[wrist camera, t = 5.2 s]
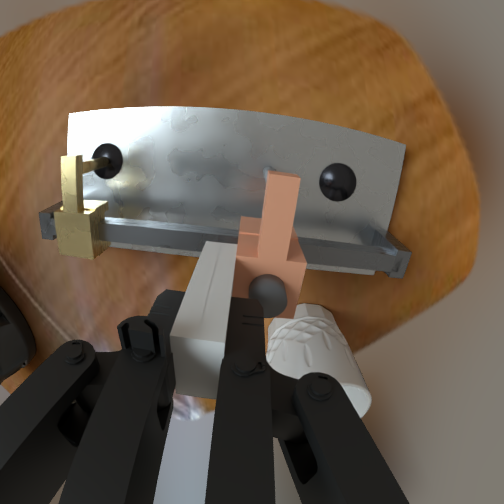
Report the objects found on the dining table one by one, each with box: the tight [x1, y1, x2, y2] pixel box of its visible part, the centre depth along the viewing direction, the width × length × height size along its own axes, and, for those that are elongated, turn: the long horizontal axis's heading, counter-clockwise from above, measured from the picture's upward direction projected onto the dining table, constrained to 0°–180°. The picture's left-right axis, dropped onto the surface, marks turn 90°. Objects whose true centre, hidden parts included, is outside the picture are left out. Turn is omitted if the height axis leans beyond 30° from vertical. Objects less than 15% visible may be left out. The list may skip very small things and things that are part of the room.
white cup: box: [266, 303, 372, 418], centre depth 21 cm, size 8×8×10 cm
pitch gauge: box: [39, 107, 412, 278], centre depth 17 cm, size 26×11×7 cm, turn 83°
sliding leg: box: [232, 166, 307, 319], centre depth 15 cm, size 3×7×9 cm, turn 173°
